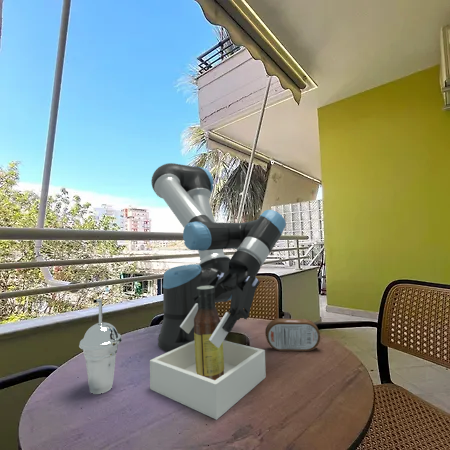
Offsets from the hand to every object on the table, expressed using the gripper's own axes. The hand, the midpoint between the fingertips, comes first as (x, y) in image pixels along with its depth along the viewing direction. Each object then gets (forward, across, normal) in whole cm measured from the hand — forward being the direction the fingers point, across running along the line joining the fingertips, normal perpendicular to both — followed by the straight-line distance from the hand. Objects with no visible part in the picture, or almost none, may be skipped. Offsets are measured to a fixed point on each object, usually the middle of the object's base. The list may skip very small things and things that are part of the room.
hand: (197, 336), depth 60 cm
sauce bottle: (+5, 0, -9) cm, 10 cm away
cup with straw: (+19, +14, +4) cm, 24 cm away
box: (+6, 0, -10) cm, 11 cm away
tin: (-14, -1, -30) cm, 33 cm away
